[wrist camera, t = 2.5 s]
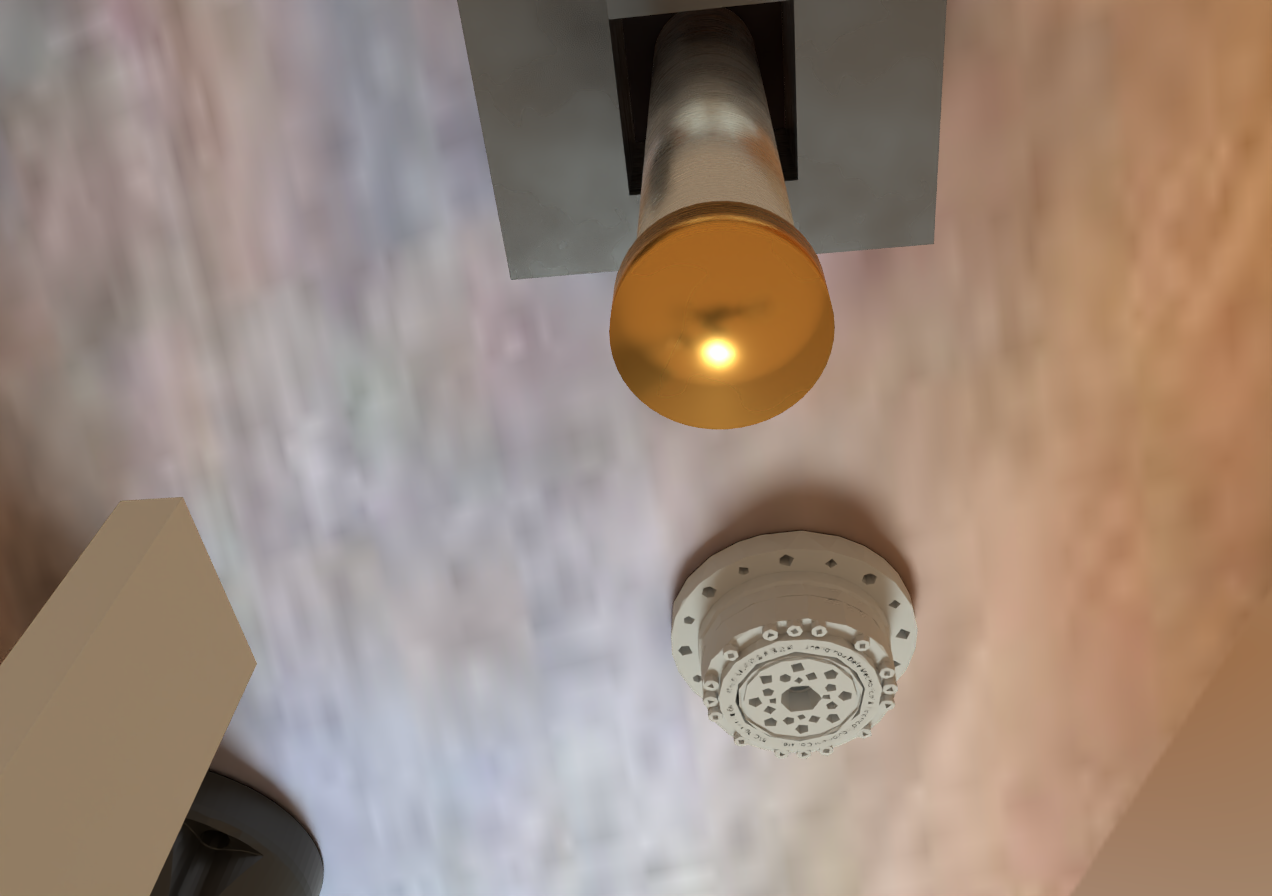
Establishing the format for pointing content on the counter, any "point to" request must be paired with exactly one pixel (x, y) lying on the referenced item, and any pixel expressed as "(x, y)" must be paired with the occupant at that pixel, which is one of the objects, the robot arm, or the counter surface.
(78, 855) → the robot arm
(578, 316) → the counter surface
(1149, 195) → the counter surface
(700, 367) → the pin
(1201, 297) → the counter surface
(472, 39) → the block
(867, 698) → the mechanical component
